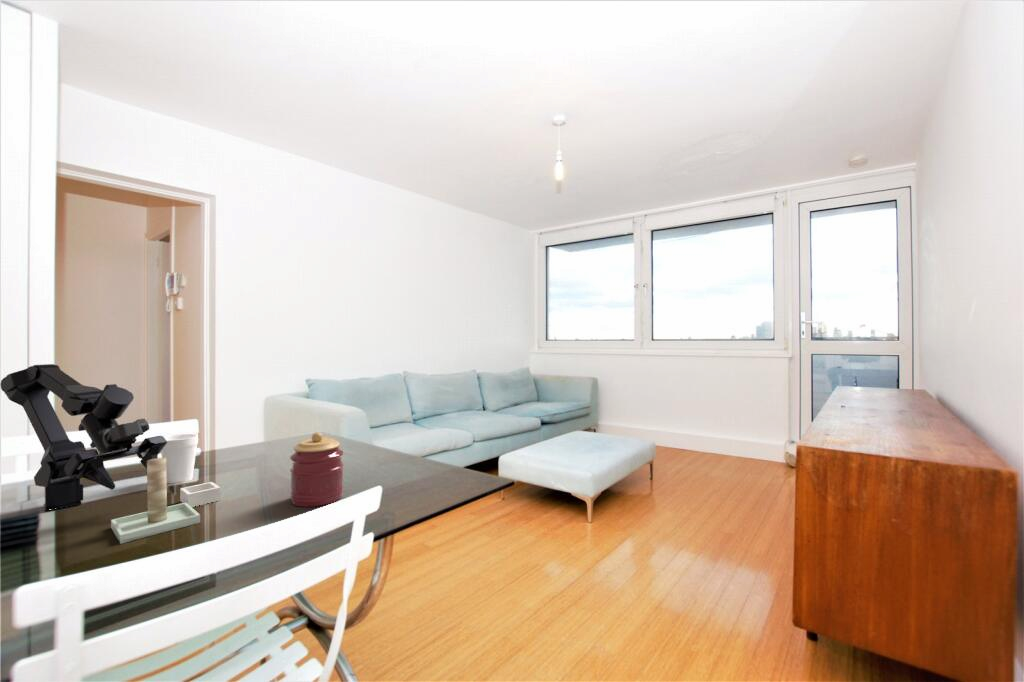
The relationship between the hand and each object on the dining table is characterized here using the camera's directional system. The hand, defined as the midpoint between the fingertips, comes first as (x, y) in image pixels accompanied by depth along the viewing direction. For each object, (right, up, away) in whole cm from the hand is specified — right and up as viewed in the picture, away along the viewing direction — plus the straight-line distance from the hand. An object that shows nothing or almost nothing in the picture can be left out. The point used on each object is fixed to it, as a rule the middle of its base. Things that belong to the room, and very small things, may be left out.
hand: (136, 481), depth 105 cm
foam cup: (-11, -9, +29) cm, 32 cm away
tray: (+7, -9, -3) cm, 12 cm away
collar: (+7, -9, +11) cm, 16 cm away
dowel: (+7, -8, -2) cm, 11 cm away
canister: (+37, -9, +13) cm, 40 cm away
